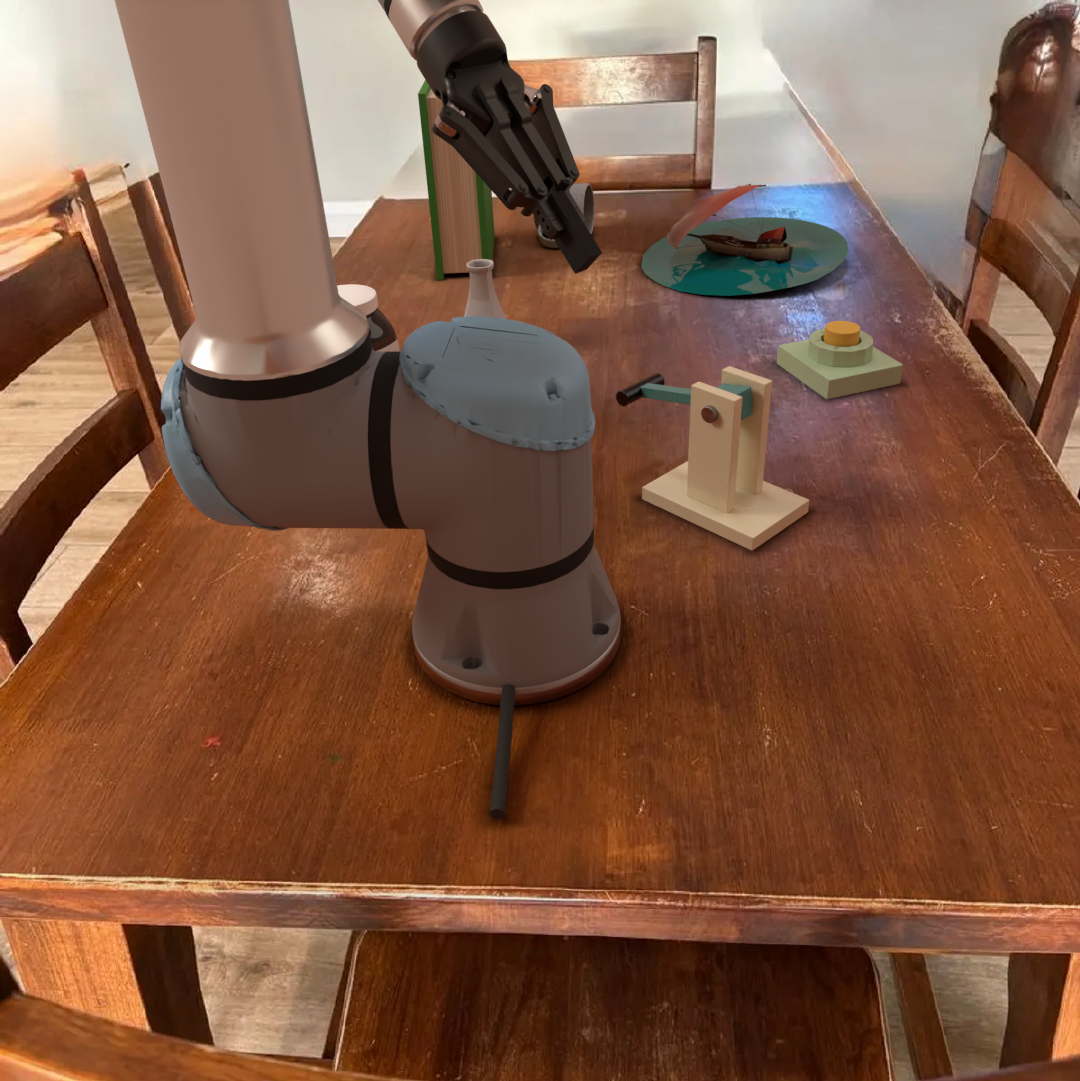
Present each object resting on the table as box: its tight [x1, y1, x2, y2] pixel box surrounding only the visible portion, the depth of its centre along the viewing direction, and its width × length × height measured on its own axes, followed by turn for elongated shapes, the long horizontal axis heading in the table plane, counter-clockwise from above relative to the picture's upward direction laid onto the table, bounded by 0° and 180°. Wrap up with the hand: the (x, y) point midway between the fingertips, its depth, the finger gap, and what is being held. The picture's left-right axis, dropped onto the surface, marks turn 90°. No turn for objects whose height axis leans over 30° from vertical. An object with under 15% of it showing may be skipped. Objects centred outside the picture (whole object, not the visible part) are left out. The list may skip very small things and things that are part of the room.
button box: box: [776, 327, 904, 400], centre depth 109 cm, size 10×9×4 cm
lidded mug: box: [337, 283, 400, 352], centre depth 106 cm, size 12×11×12 cm
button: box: [823, 320, 861, 347], centre depth 107 cm, size 4×4×2 cm
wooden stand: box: [641, 365, 810, 552], centre depth 85 cm, size 12×8×12 cm, turn 44°
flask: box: [463, 259, 507, 319], centre depth 118 cm, size 7×7×10 cm
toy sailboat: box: [640, 183, 850, 297], centre depth 137 cm, size 28×28×11 cm
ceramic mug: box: [533, 182, 596, 249], centre depth 151 cm, size 11×8×8 cm
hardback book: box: [417, 79, 496, 281], centre depth 141 cm, size 18×7×24 cm, turn 0°
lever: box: [615, 372, 753, 421], centre depth 86 cm, size 12×5×2 cm, turn 44°
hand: (588, 263), depth 88 cm, fingers closed
